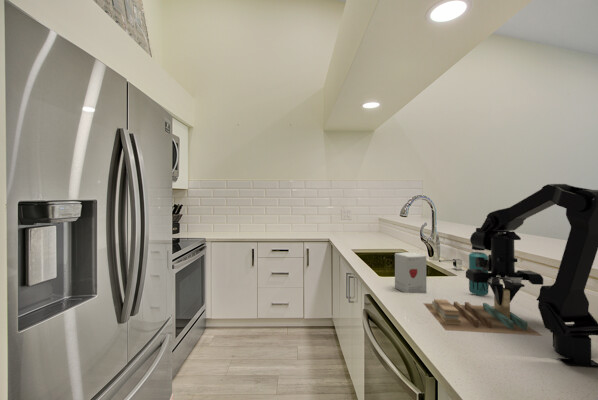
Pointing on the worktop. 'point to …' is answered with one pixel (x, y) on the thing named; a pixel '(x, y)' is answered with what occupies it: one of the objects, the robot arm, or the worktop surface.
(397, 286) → the supplement box
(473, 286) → the beverage bottle
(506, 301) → the tan rectangular block
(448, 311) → the offcut stack
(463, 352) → the worktop surface
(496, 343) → the worktop surface
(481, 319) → the rack
